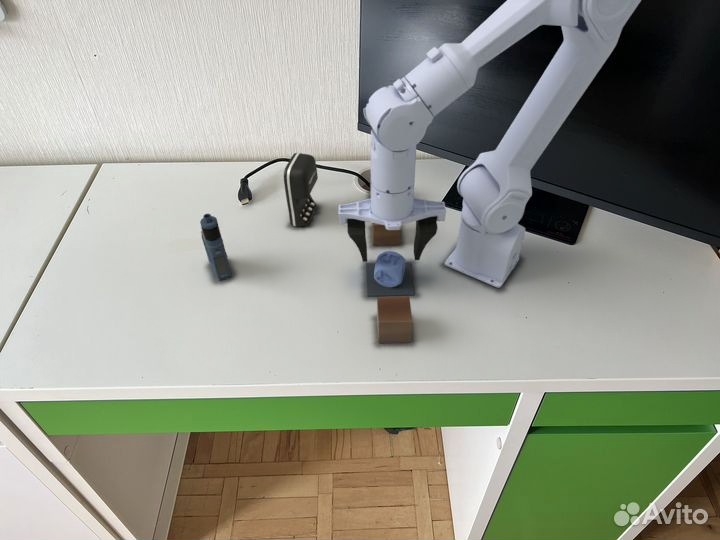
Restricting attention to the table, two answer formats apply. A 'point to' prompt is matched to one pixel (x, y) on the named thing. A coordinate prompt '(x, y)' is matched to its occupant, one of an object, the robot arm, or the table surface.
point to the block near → (394, 319)
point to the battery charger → (300, 188)
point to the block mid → (385, 235)
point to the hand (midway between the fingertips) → (390, 256)
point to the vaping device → (215, 247)
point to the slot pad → (380, 290)
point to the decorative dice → (389, 269)
